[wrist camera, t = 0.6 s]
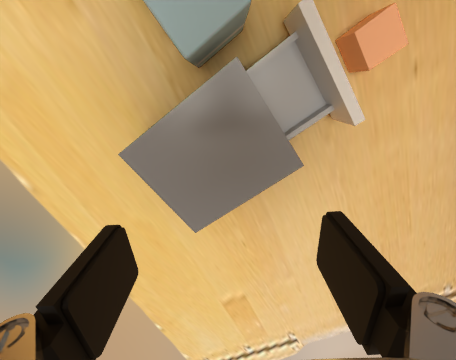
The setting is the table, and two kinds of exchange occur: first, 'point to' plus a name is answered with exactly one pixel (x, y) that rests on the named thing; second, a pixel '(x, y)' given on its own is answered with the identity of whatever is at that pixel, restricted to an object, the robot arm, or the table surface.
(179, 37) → the radio
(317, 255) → the robot arm
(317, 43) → the light grey drawer
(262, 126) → the housing
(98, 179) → the table surface
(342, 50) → the block
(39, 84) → the table surface
